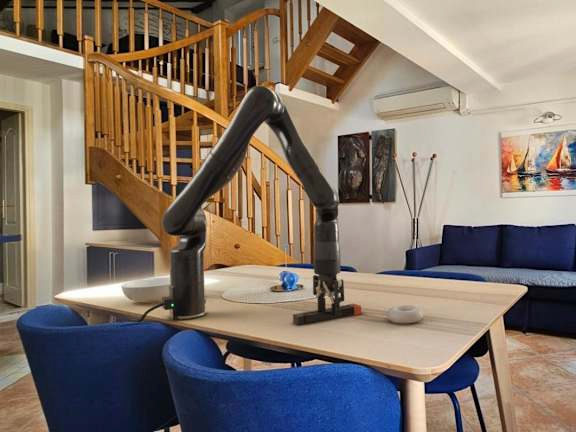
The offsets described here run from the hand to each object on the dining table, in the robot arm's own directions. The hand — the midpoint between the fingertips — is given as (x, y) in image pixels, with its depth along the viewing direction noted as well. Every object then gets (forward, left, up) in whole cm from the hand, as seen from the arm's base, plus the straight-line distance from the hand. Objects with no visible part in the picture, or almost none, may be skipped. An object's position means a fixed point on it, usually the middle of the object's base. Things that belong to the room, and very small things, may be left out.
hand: (328, 313), depth 119 cm
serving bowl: (-35, +63, -1) cm, 72 cm away
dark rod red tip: (0, 0, -1) cm, 1 cm away
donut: (+15, -16, -1) cm, 22 cm away
